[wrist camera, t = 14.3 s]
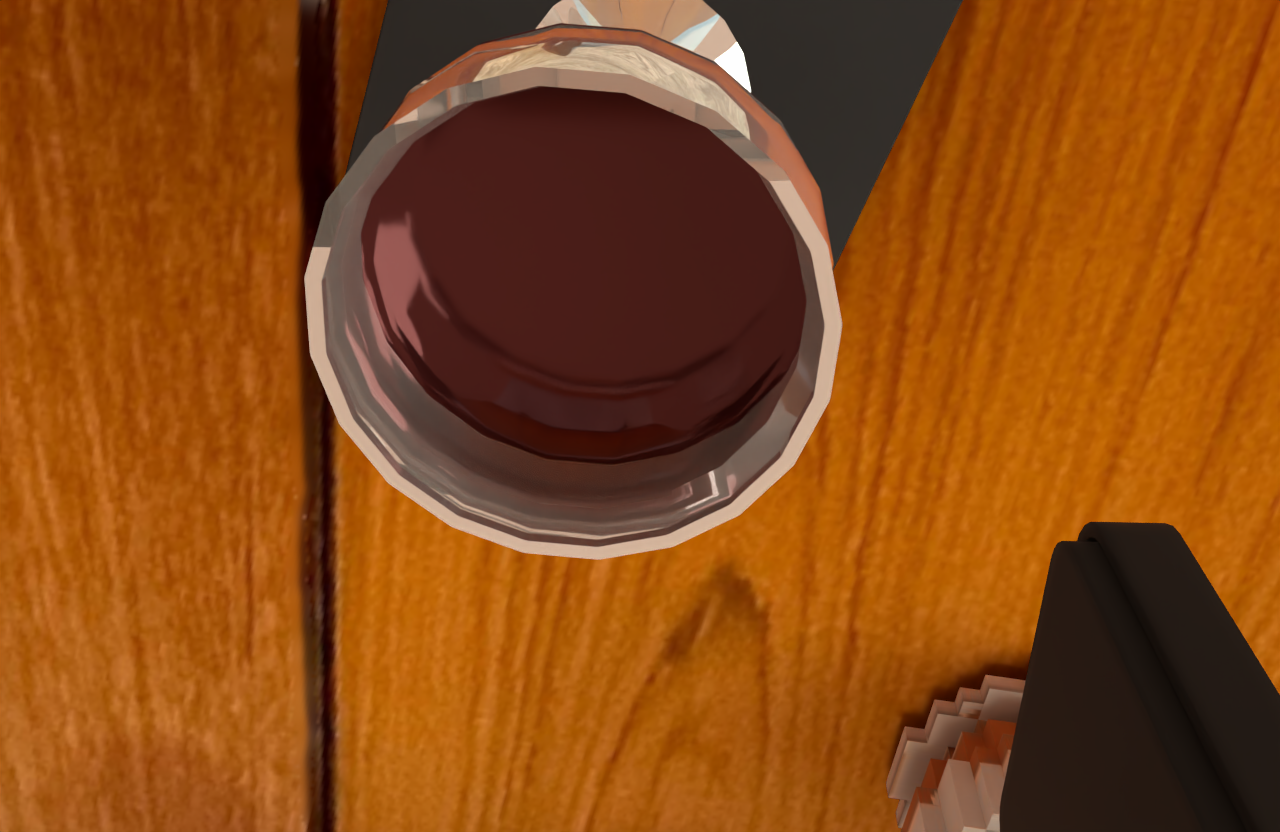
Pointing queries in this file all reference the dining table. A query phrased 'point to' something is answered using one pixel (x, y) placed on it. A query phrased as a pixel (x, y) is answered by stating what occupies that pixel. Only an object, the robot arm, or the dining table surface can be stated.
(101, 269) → the dining table surface
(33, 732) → the dining table surface
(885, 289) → the dining table surface
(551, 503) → the wineglass
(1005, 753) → the decorative ornament
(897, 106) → the mat
